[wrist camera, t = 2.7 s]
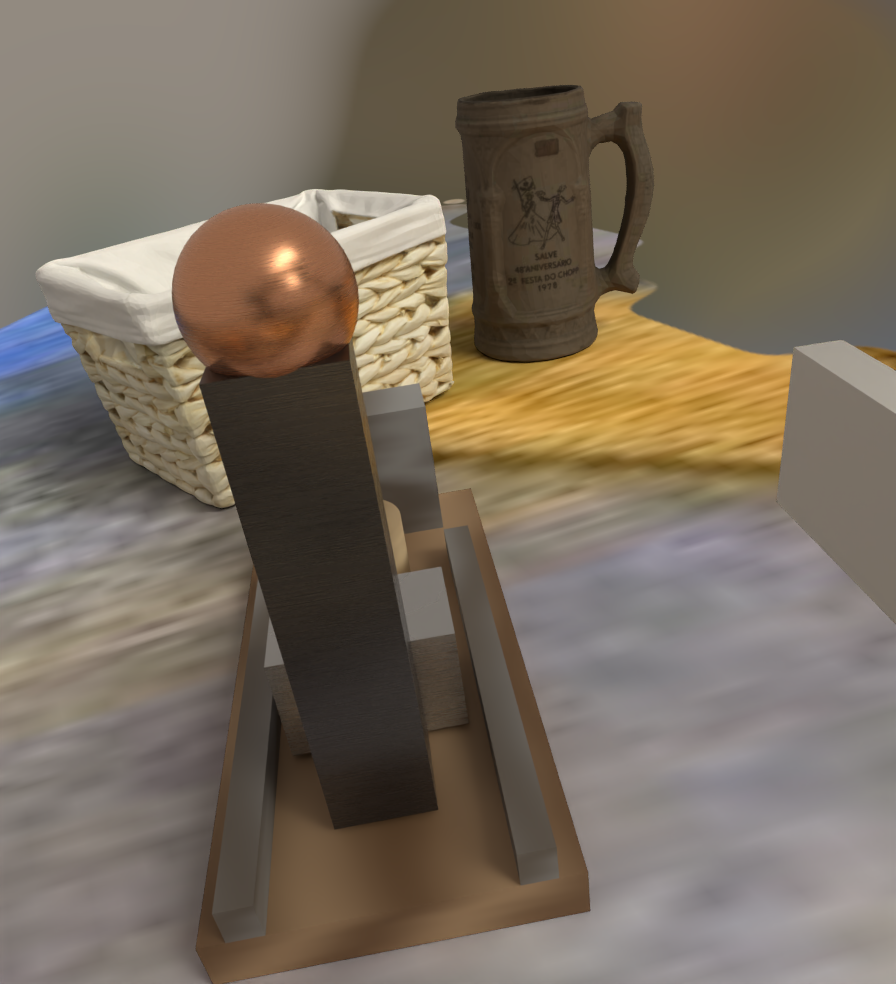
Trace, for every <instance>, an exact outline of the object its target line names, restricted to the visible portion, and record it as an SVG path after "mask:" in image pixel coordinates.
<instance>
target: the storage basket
mask: <svg viewBox="0 0 896 984" xmlns="http://www.w3.org/2000/svg"><path fill="white" fill-rule="evenodd" d="M267 204H275V205H281V206H284V207H288V208H291V209H294V210H296V211H299V212H301V213H303V214H305V215H307V216H309V217H310V218H312V219H314V220H315V221H317V222H318V223H319V224H320V225H322V226H323V227H324V228H325V229H327V230H328V231H329V232H330V234H331V235H332V236H333V237H334V238H335V239H336V240H337V241H338V243H339V244H340V245H341V247H342V248H343V249H344V251H345V253H346V255H347V257H348V259H349V260H350V263H351V266H352V268H353V271H354V273H355V277H356V281H357V285H358V293H359V311H358V318H357V324H356V327H355V331H354V334H353V336H352V341H353V346H354V351H355V357H356V362H357V367H358V372H359V377H360V383H361V388H362V392H369V391H375V390H381V389H387V388H393V387H399V386H405V385H411V384H417V383H419V384H420V388H421V392H422V396H423V400H424V402H428V401H429V400H431V399H432V398H433V397H435V396H437V395H438V394H440V393H442V392H444V391H446V390H448V389H449V388H450V387H451V386H452V384H453V383H454V381H452V379H453V376H452V360H451V345H450V341H451V336H450V331H449V327H448V326H449V319H448V317H449V305H448V300H447V297H446V296H447V288H446V281H447V270H446V268H445V264H446V263H447V244H446V242H445V233H446V228H445V222H444V216H443V214H442V209H441V204H440V201H439V200H438V199H437V198H436V197H435V196H432V195H425V196H417V195H408V194H396V193H384V192H366V191H351V190H321V189H318V190H317V189H313V190H306V191H303V192H302V193H300V194H298V195H295V196H292V197H288V198H284V199H280V200H276V201H271V202H267ZM206 221H207V220H206ZM206 221H202V222H199V223H196V224H192V225H189V226H185V227H182V228H178V229H175V230H171V231H168V232H164V233H160V234H156V235H152V236H148V237H145V238H141V239H137V240H133V241H130V242H126V243H122V244H119V245H115V246H111V247H108V248H104V249H100V250H96V251H93V252H89V253H85V254H81V255H78V256H74V257H70V258H63V259H57V260H53V261H50V262H48V263H46V264H45V265H43V266H42V267H40V268H39V269H38V270H37V271H36V280H37V282H38V283H39V286H40V288H41V290H42V292H43V294H44V296H45V298H46V300H47V306H48V308H49V312H50V314H51V315H52V318H53V319H54V320H55V322H58V323H61V325H62V327H63V328H64V331H65V333H66V334H67V335H69V336H70V337H71V338H72V345H73V347H74V348H75V350H76V351H77V352H78V353H79V354H80V358H81V363H82V365H83V367H84V369H85V371H86V372H87V373H88V376H89V378H90V380H91V381H92V382H94V383H95V387H96V392H97V394H98V396H99V398H100V399H101V401H102V404H103V407H104V408H105V409H106V410H107V411H109V417H110V419H111V420H112V422H113V423H114V424H115V426H116V431H117V433H118V435H119V436H120V437H121V439H122V443H123V446H124V448H125V450H126V451H127V452H128V453H129V457H130V458H131V459H132V460H133V461H134V462H136V463H137V464H139V465H141V466H144V467H145V468H147V469H148V470H150V471H151V472H153V473H155V474H158V475H159V476H160V477H161V478H162V479H164V480H166V481H168V482H170V483H172V484H174V485H176V486H178V487H179V488H180V489H182V490H183V491H185V492H187V493H189V494H192V495H194V496H195V497H196V498H197V499H198V500H200V501H201V502H203V503H206V504H209V505H213V506H215V507H219V508H225V507H229V506H232V505H234V504H235V501H234V498H233V495H232V492H231V488H230V485H229V482H228V478H227V475H226V472H225V469H224V465H223V462H222V459H221V455H220V452H219V449H218V446H217V442H216V439H215V436H214V433H213V429H212V426H211V423H210V419H209V416H208V413H207V410H206V406H205V403H204V400H203V396H202V393H201V390H200V387H199V383H200V380H201V378H202V375H203V373H204V370H205V367H206V366H204V365H203V364H202V363H201V362H200V361H199V360H198V359H197V358H196V356H195V355H194V354H193V352H192V351H191V350H190V348H189V347H188V345H187V344H186V342H185V340H184V339H183V337H182V335H181V333H180V331H179V328H178V325H177V323H176V320H175V315H174V311H173V304H172V279H173V274H174V269H175V266H176V263H177V260H178V257H179V255H180V253H181V251H182V249H183V247H184V245H185V244H186V242H187V241H188V240H189V238H190V237H191V235H192V234H193V233H194V232H195V231H196V230H197V229H198V228H199V227H200V226H201V225H202V224H204V223H205V222H206Z"/></svg>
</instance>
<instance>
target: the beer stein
mask: <svg viewBox="0 0 896 984" xmlns="http://www.w3.org/2000/svg"><path fill="white" fill-rule="evenodd" d="M641 113H642V104H641V103H640V102H620V103H619V104H618V105H617V106H616V108H615V109H614V110H613V111H611V112H609V113H605V114H602V115H600V116H597V117H594V118H592V119H591V118H589V117H588V109H587V105H586V103H585V98H584V91H583V88H582V87H581V86H576V85H559V86H546V87H536V88H524V89H514V90H504V91H491V92H483V93H479V94H475V95H471V96H467V97H463V98H460V99H459V100H458V102H457V117H456V121H455V122H456V128H457V130H458V132H459V133H460V135H461V140H462V147H463V160H464V172H465V184H466V199H467V214H468V231H469V246H470V259H471V272H472V284H473V304H472V312H473V315H474V320H475V334H474V342H475V346H476V348H477V349H478V350H479V351H480V352H482V353H483V354H485V355H487V356H489V357H492V358H495V359H499V360H506V361H518V362H531V361H542V360H550V359H556V358H560V357H563V356H567V355H570V354H573V353H576V352H578V351H580V350H583V349H585V348H587V347H588V346H590V345H591V344H592V343H593V342H594V341H595V339H596V337H597V333H598V329H597V324H596V319H595V314H594V307H595V303H596V302H597V300H598V299H599V297H600V296H601V295H603V294H605V293H607V292H609V291H613V290H618V291H623V292H627V293H631V294H633V293H635V292H636V290H637V287H638V284H639V277H640V275H639V273H638V272H637V271H636V269H635V268H634V266H633V255H634V253H635V250H636V247H637V244H638V242H639V239H640V237H641V234H642V232H643V229H644V227H645V224H646V221H647V219H648V216H649V211H650V207H651V202H652V197H653V189H654V175H653V166H652V161H651V157H650V152H649V148H648V146H647V143H646V140H645V137H644V134H643V129H642V121H641ZM610 141H612V142H614V143H616V144H617V145H618V146H619V147H620V149H621V150H622V152H623V154H624V158H625V165H626V177H627V191H626V197H625V208H624V214H623V219H622V223H621V228H620V231H619V234H618V238H617V242H616V245H615V247H614V252H613V254H612V256H611V258H610V260H609V262H608V264H607V265H606V266H605V267H604V268H600V269H598V268H597V267H595V263H594V249H593V228H592V211H591V190H590V178H589V156H590V154H591V151H592V149H593V148H594V147H595V146H596V145H597V144H598V143H604V142H610Z"/></svg>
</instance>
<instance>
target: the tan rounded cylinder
mask: <svg viewBox="0 0 896 984" xmlns="http://www.w3.org/2000/svg"><path fill="white" fill-rule="evenodd" d="M383 502H384V507H385V512H386V517H387V522H388V528H389V533H390V538H391V543H392V548H393V554H394V559H395V564H396V569H397V574H402V573H407V572H411V569H410V564H409V558H408V553H407V547H406V542H405V536H404V531H403V525H402V520H401V514H400V511H399V509H398V508H397V507H396V506H395V505H394V504H392V503H390V502H388V501H385V500H383Z"/></svg>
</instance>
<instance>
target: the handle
mask: <svg viewBox="0 0 896 984" xmlns="http://www.w3.org/2000/svg"><path fill="white" fill-rule="evenodd" d="M172 304H173V311H174V315H175V320H176V323H177V325H178V328H179V331H180V333H181V335H182V337H183V339H184V340H185V342H186V344H187V345H188V347H189V348H190V350H191V351H192V352H193V354H194V355H195V356H196V358H197V359H198V360H199V361H200V362H201V363H202V364H203V365H204V366H206V367H205V370H204V373H203V375H202V378H201V380H200V383H199V387H200V390H201V393H202V396H203V400H204V403H205V406H206V410H207V413H208V416H209V419H210V423H211V426H212V429H213V433H214V436H215V439H216V442H217V446H218V449H219V452H220V455H221V459H222V462H223V465H224V469H225V472H226V475H227V478H228V482H229V485H230V488H231V492H232V495H233V498H234V501H235V505H236V508H237V511H238V515H239V518H240V521H241V524H242V528H243V531H244V534H245V538H246V541H247V544H248V547H249V551H250V554H251V557H252V561H253V564H254V567H255V570H256V574H257V577H258V580H259V583H260V587H261V590H262V593H263V597H264V600H265V603H266V606H267V610H268V613H269V616H270V617H269V627H268V636H267V645H266V654H265V663H264V669H265V672H266V675H267V678H268V681H269V684H270V687H271V691H272V694H273V697H274V700H275V703H276V706H277V709H278V712H279V715H280V718H281V722H282V725H283V728H284V731H285V734H286V737H287V740H288V743H289V746H290V749H291V753H292V756H296V755H301V754H307V753H311V754H312V757H313V761H314V764H315V767H316V771H317V774H318V777H319V780H320V784H321V787H322V790H323V794H324V797H325V800H326V803H327V807H328V810H329V813H330V817H331V820H332V823H333V826H334V830H335V829H341V828H346V827H351V826H356V825H362V824H367V823H372V822H378V821H383V820H388V819H393V818H399V817H404V816H409V815H414V814H420V813H425V812H430V811H436V810H438V802H437V795H436V788H435V780H434V773H433V766H432V759H431V751H430V744H429V737H428V731H431V730H436V729H442V728H447V727H452V726H458V725H463V724H469V722H468V715H467V709H466V702H465V696H464V689H463V683H462V676H461V670H460V663H459V657H458V650H457V644H456V638H455V632H454V627H453V622H452V617H451V612H450V607H449V602H448V597H447V592H446V588H445V583H444V578H443V573H442V568H441V567H436V568H430V569H424V570H419V571H413V572H407V573H402V574H397V569H396V564H395V559H394V554H393V548H392V543H391V538H390V533H389V528H388V522H387V517H386V512H385V507H384V502H383V497H382V491H381V486H380V481H379V476H378V471H377V465H376V460H375V455H374V450H373V445H372V440H371V434H370V429H369V424H368V419H367V414H366V408H365V403H364V398H363V393H362V388H361V383H360V377H359V372H358V367H357V362H356V357H355V351H354V346H353V341H352V336H353V334H354V331H355V327H356V324H357V318H358V311H359V293H358V285H357V281H356V277H355V273H354V271H353V268H352V266H351V263H350V260H349V259H348V257H347V255H346V253H345V251H344V249H343V248H342V247H341V245H340V244H339V243H338V241H337V240H336V239H335V238H334V237H333V236H332V235H331V234H330V232H329V231H328V230H327V229H325V228H324V227H323V226H322V225H320V224H319V223H318V222H317V221H315V220H314V219H312V218H310V217H309V216H307V215H305V214H303V213H301V212H299V211H296V210H294V209H291V208H288V207H284V206H281V205H275V204H267V203H256V204H245V205H240V206H236V207H233V208H230V209H227V210H225V211H223V212H221V213H219V214H217V215H215V216H213V217H212V218H210V219H209V220H207V221H206V222H205V223H204V224H202V225H201V226H200V227H199V228H198V229H197V230H196V231H195V232H194V233H193V234H192V235H191V237H190V238H189V240H188V241H187V242H186V244H185V245H184V247H183V249H182V251H181V253H180V255H179V257H178V260H177V263H176V266H175V269H174V274H173V279H172Z"/></svg>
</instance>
